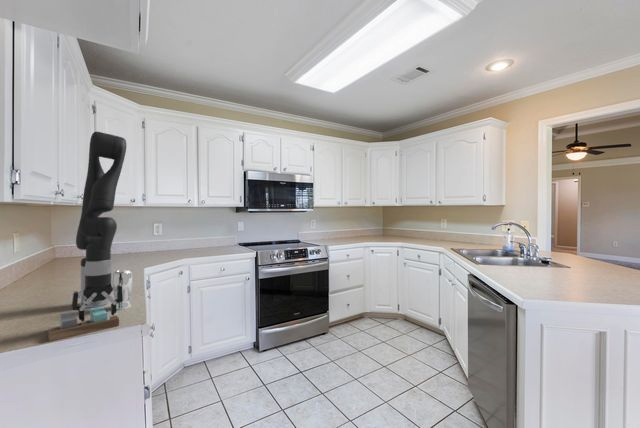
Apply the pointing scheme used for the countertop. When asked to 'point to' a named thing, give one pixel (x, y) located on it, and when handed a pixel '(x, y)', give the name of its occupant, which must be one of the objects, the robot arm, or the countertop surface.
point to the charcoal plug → (68, 320)
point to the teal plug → (97, 314)
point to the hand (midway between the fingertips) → (98, 317)
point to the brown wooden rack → (82, 328)
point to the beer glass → (123, 287)
